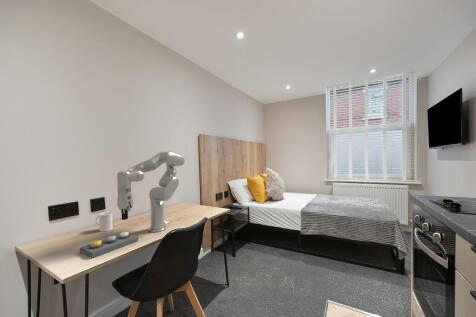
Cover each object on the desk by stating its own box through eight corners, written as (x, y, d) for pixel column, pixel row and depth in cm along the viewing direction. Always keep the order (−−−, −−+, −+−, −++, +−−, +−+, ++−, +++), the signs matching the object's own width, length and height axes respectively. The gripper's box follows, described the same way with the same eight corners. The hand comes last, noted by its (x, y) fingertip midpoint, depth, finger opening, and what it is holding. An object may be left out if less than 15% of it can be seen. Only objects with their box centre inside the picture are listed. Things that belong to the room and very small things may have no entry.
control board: (125, 237, 135) (125, 232, 135) (138, 241, 128) (138, 236, 128) (79, 252, 112) (79, 246, 112) (92, 258, 105) (92, 252, 105)
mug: (91, 231, 146) (92, 215, 146) (100, 227, 155) (100, 212, 155) (107, 231, 146) (107, 215, 146) (115, 227, 154) (115, 212, 154)
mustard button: (98, 243, 117) (98, 239, 117) (103, 244, 114) (103, 241, 114) (88, 246, 112) (88, 242, 112) (93, 248, 110) (93, 244, 110)
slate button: (112, 238, 123) (112, 235, 124) (117, 239, 121) (117, 236, 121) (104, 241, 119) (104, 237, 119) (108, 242, 117) (108, 239, 117)
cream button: (125, 234, 130) (125, 231, 130) (130, 235, 128) (130, 232, 128) (117, 236, 126) (117, 233, 126) (122, 238, 124) (122, 235, 124)
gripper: (137, 190, 127) (137, 219, 127) (123, 189, 134) (123, 216, 135) (125, 192, 120) (126, 222, 121) (111, 190, 128) (112, 219, 128)
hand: (124, 219), depth 128 cm, fingers closed
